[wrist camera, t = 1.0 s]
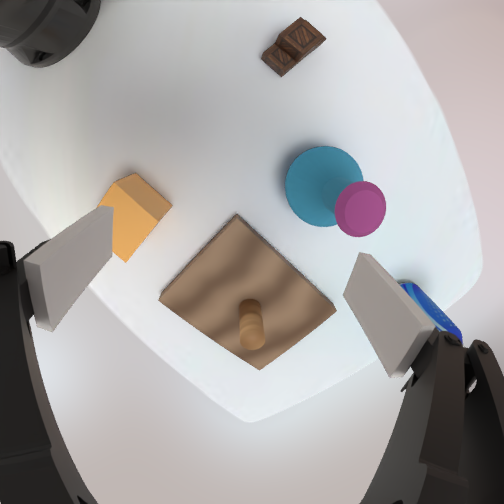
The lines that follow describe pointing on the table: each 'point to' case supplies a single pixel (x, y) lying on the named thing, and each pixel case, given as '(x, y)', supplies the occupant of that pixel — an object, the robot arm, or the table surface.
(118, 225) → the wooden toy cube
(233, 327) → the post board
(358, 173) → the perfume bottle
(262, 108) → the table surface
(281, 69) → the stack of crates
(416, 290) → the beer can
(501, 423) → the robot arm
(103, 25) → the table surface
